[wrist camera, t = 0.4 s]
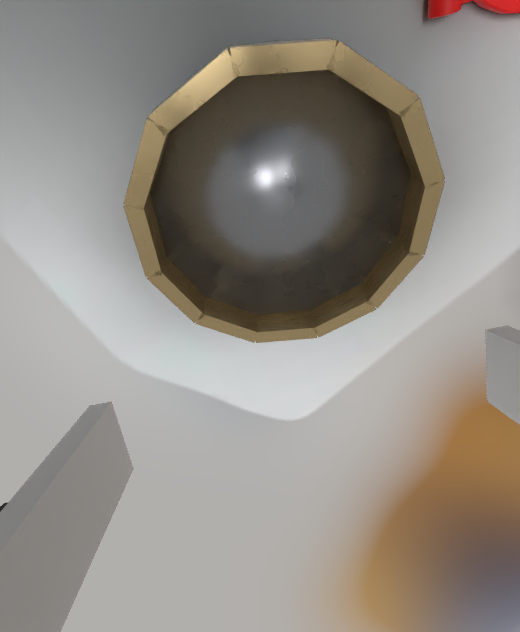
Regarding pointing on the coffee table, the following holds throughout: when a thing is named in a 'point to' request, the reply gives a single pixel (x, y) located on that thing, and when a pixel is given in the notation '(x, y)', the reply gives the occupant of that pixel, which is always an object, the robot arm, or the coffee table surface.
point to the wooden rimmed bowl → (283, 190)
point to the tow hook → (446, 3)
